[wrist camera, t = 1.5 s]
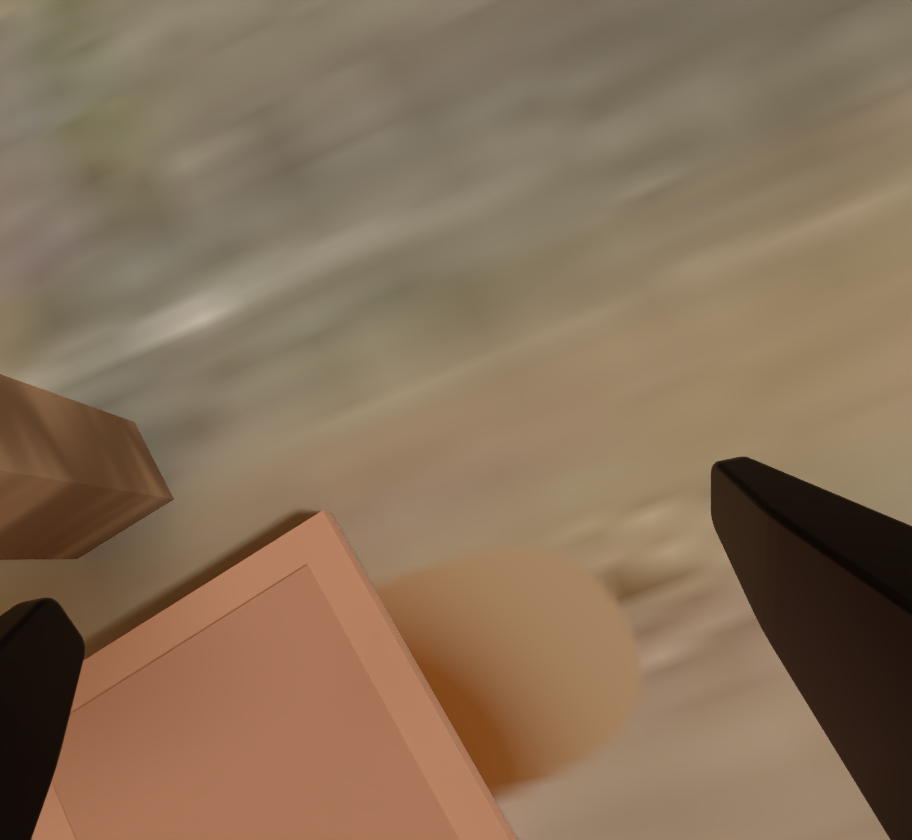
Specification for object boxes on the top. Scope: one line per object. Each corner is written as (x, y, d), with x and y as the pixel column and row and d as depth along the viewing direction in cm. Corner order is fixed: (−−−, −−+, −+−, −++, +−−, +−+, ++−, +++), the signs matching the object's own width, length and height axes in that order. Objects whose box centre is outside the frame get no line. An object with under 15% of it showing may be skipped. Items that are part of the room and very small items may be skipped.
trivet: (532, 867, 20) (534, 884, 19) (171, 1109, 19) (152, 1141, 18) (330, 512, 23) (322, 510, 22) (8, 714, 22) (-17, 722, 21)
